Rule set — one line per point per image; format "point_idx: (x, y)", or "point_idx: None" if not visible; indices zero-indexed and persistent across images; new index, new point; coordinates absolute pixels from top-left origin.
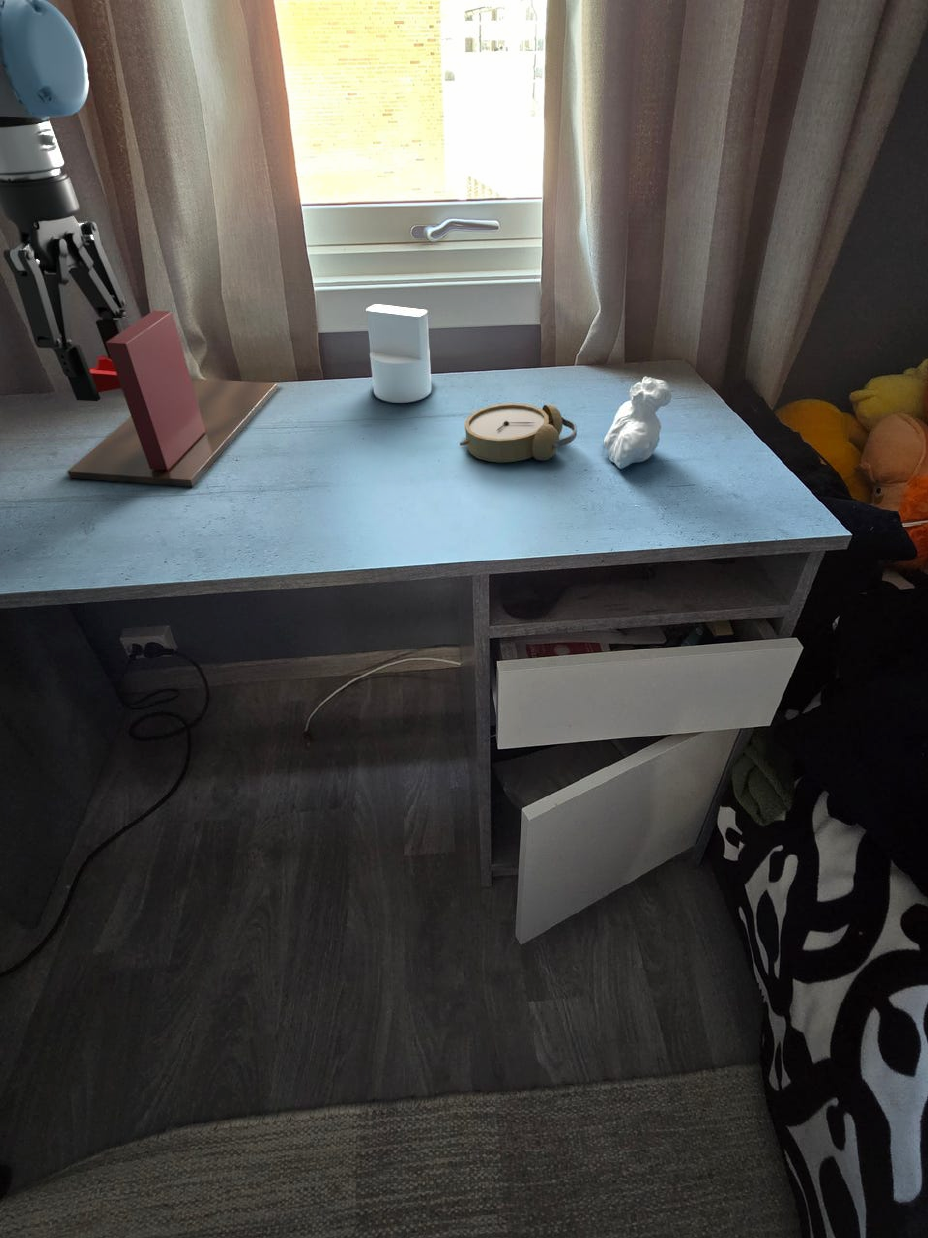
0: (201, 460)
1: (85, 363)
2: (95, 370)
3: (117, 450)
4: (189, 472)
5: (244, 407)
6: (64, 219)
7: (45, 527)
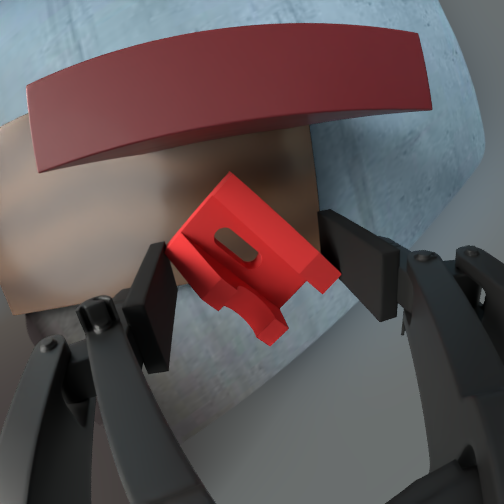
0: None
1: (360, 235)
2: (288, 256)
3: None
4: None
5: None
6: None
7: (418, 193)
